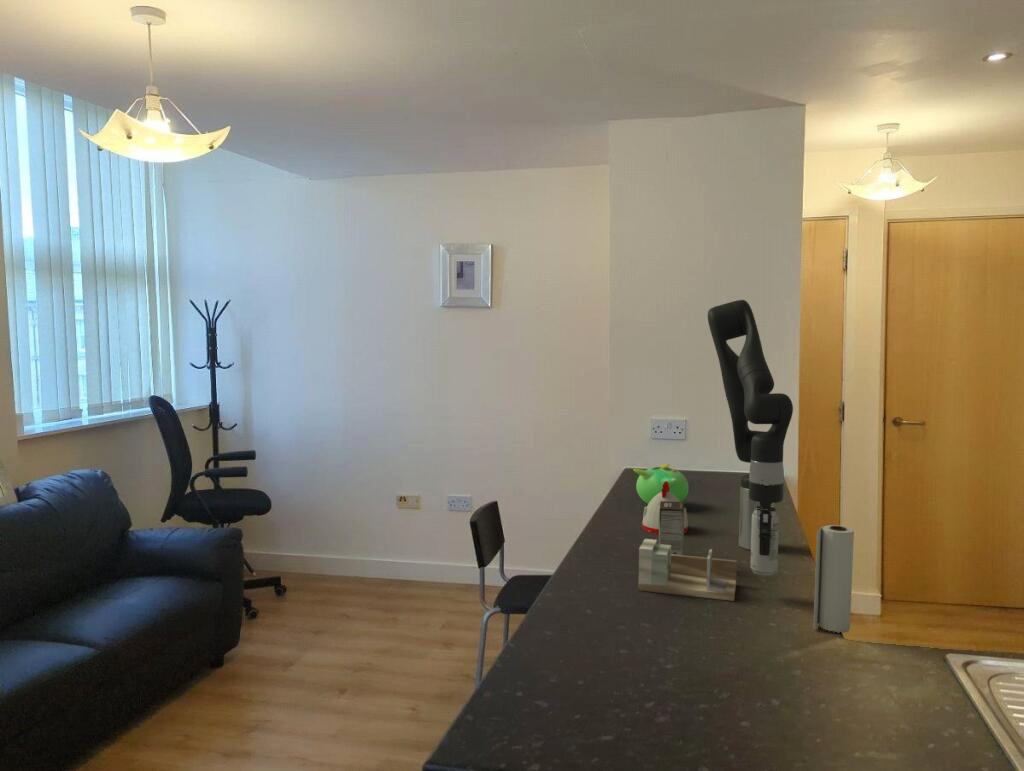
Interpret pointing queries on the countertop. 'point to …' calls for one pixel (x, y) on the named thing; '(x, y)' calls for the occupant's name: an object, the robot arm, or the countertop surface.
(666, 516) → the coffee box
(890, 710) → the countertop surface
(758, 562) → the energy drink can
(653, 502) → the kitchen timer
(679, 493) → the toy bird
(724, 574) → the wooden desk organizer
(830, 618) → the paper towel roll
